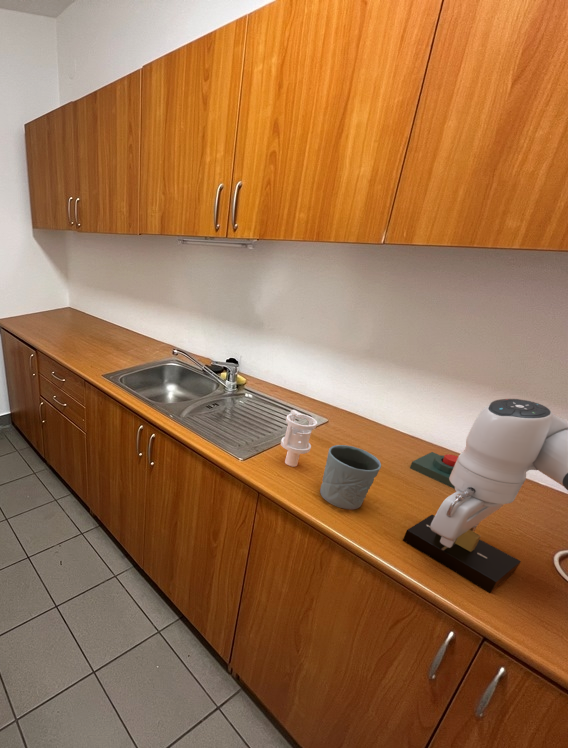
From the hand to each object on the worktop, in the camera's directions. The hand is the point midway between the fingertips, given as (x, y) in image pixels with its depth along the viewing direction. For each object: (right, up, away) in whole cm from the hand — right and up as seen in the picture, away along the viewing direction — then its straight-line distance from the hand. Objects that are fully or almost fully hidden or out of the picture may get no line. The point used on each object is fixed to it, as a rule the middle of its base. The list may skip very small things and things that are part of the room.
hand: (456, 537), depth 79 cm
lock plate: (0, -4, +1) cm, 4 cm away
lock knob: (0, -1, 0) cm, 1 cm away
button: (+21, +10, +23) cm, 33 cm away
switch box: (+21, +6, +24) cm, 33 cm away
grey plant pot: (-11, +2, +17) cm, 21 cm away
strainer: (-16, +8, +30) cm, 35 cm away
